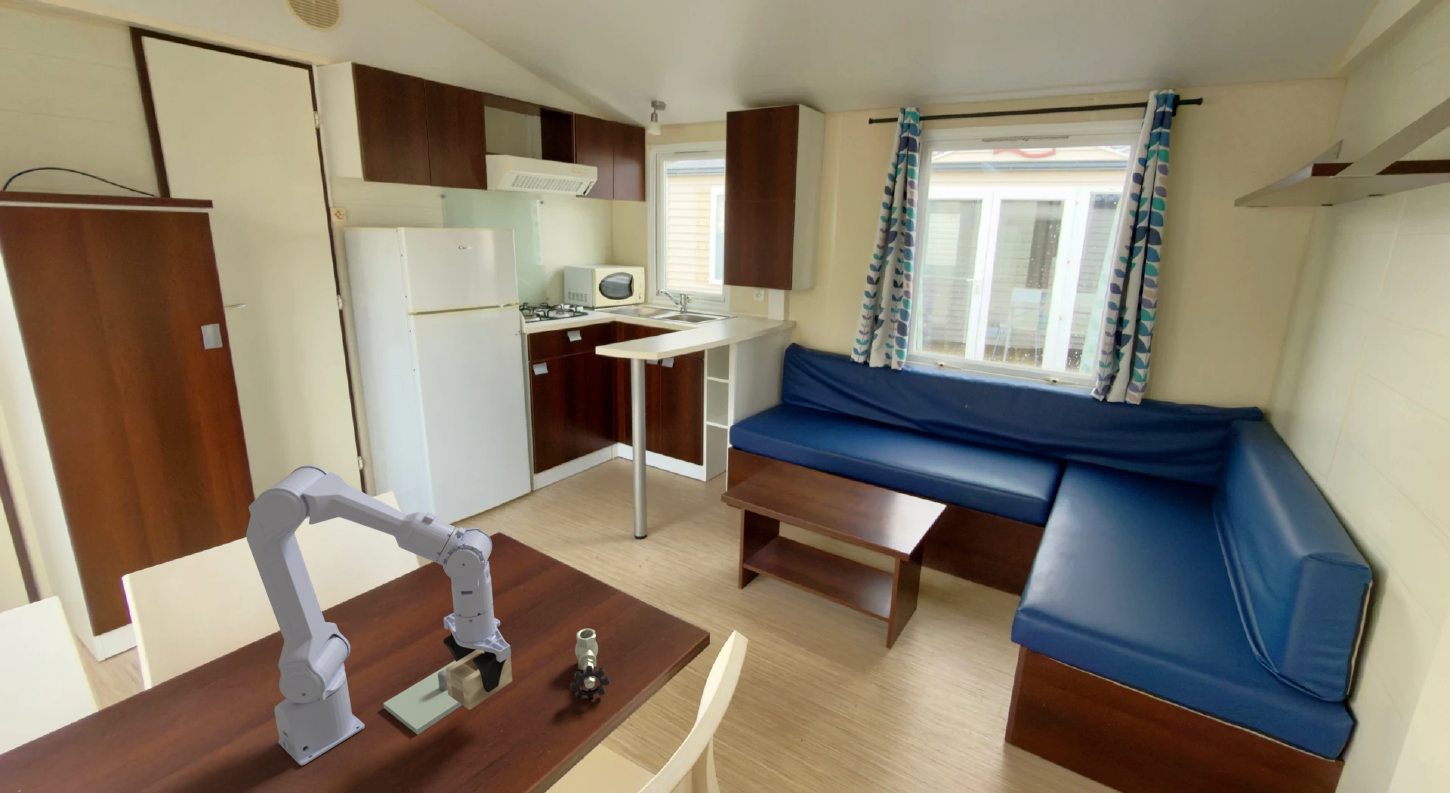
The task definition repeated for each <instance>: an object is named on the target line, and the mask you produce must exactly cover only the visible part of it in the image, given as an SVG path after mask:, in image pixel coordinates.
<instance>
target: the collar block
mask: <svg viewBox="0 0 1450 793" xmlns="http://www.w3.org/2000/svg"><path fill="white" fill-rule="evenodd" d="M482 653H484V651H481V650H475V651H474V652H472V653H470V654H469V655H467V656H465V657H464V658H462V659H460V660H459V661H457V662H455V663H454V664H452V665H450V666H449V667H447V668H445V669H446V678H447V688H448V695H449V696H450V697H452V698H453V699H455V700H456V701H457V702H459V703H460V704H462V706H463V707H464V708H465V709H468V710H469V711H470V710H472V709H473V708H475V707H476V706H477V705H480V704H481V703H482V702H484V701H486V700H487V699H488V698H490V697H491V696H492V695H494V694H496V693H497V692H498V691H500V690H501V689H503V688H505V687H506V686H507V685H508V684H510V683H512V682H513V672H512V659H511V656H512V655H511V656H510V657H508V658H507V659H506V661H505V663H504V666H503V668H502V672H501V676H500V681H499V685H498V687H496V688H495V689H493V690H492V691H490V692H486V691H485V689H484V686H483V682H482V677H481V674H480V671H479V669H478V667H477V666H476V664H475V663H474V662H473V659H474V658H475V657H477V656H479V655H480V654H482Z"/></svg>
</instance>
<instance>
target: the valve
mask: <svg viewBox="0 0 1450 793" xmlns="http://www.w3.org/2000/svg"><path fill="white" fill-rule="evenodd" d="M597 642H598V641H596V630H595V629H593V628H583V629H582V628H581V629H580V630H579V631H577V632H576V644H575V647H574V653H575V654H574V655H575V657H576V658H577V668H578V669H579V670H583V673H581V671H575V673H574V680H576V682H575V683H574V681H571V682H570V684H569V688H570V691H573V692H574V691H575V694H574V695H575V699H576V700H581V699H582V698H583V696H586V698H587V701H588V702H592V701H591V700H593V701H594V699H595V695H596V694H598V695H599V696H604V695H605V694H606V688H605V687H604V686H608V685H610V677H609V676H607V675H606V676H605V678H603V677H604V675H605V669H604V667H598V670H596V671H594V668H595V667H597V655H598V652H599V645H598V643H597ZM596 679H597V680H598V681H599V684H598V686H597V687H596V688H595V689H592V688H594V687H595V686H596V685H595V683H596ZM582 682H583V685H585V687H584V688H586V689H588V690H584V689H583V688H582V686H581V684H582Z"/></svg>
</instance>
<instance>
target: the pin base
mask: <svg viewBox="0 0 1450 793" xmlns="http://www.w3.org/2000/svg"><path fill="white" fill-rule="evenodd" d="M455 662H456V661H455V660H454V661H452V662H450V663H449V664H447V665H445V666H443V667H442V668H440V669H439V670H437V671H435V672H433V673H431V674H430V675H429V676H427V677H424V679H423V678H422V680H420V681H418V682H417V683H415V684H414V685H411V686H410V687H408V688H407V689H405V690H403V691H401V692H400V693H398V694H397V695H395V696H392V697H391V698H389V699H388V700H386V701H385V702H383V709H385V710H386V711H387V712H388V713H390V714H391V715H392V716H393V717H395V718H396V719H397V720H398V721H399V722H401V723H402V724H403V725H404V726H405V727H407V728H408V729H410V731H412V732H413V733H415V734H416V735H418V736H419V735H420V734H421V733H423V732H425V730H427V729H428V728H430V727H432V726H433V725H435V724H436V723H437V722H439V721H441V720H442V719H444V718H445V717H446V716H448V715H450V714H451V713H453V712H454V711H455V710H457V709H459V708H461V707H462V706H463V705H462V704H460V703H459V702H457V701H456V700H455V699H453V698H452V697H450V696H449V695H448V688H447V678H446V669H445V668H447V667H449V666H450V665H452V664H454V663H455Z"/></svg>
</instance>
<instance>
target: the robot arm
mask: <svg viewBox="0 0 1450 793" xmlns="http://www.w3.org/2000/svg"><path fill="white" fill-rule="evenodd" d="M248 510H249V514H250V518H249V521H248V525H247V529H246V534H245V535H246V536H245V537H246V540H247V544H248V546H249V549H250V552H251V554H252V558H253V560H254V562H255V565H256V568H257V570H258V574H259V576H260V580H261V582H262V584H263V587H264V589H265V590H264V591H265V593H266V595H267V597H268V600H269V602H270V605H271V610H272V612H273V614H274V616H275V619H276V622H277V624H278V627H279V630H280V633H281V636H282V638H283V641H284V642H283V645H282V648H281V649H282V650H281V653H280V657H279V661H278V664H277V665H278V669H279V671H280V678H279V682H278V687H279V690H280V692H281V694H282V695H283V697H285V698H284V699H283V700H282V701H281V702H280V703H278V704H276V705H275V706H274V712H273V713H274V718H275V724H276V728H277V732H278V745H280V747H282V748H283V749H284V750H285V752H287V754H288V755H289V756H291V758H292V759H294V761H295V762H296V763H297V764H298V765H299V766H304V765H306V764H308V763H310V762H311V761H313V760H315V759H316V758H318V757H320V756H321V755H323V754H324V753H326V752H328V751H329V750H331V749H332V748H334V747H336V746H337V745H339V744H341V743H342V742H344V741H345V740H347V739H349V738H350V737H352V736H354V735H355V734H357V733H358V732H360V731H362V730H363V729H365V726H366V725H365V723H364V722H362V721H361V720H360V719H359V718H358V717H356V716H355V715H354V713H352V712H353V711H352V705H351V704H352V703H351V699H350V693H349V686H348V680H347V674H346V670H345V669H346V666H345V663H344V662H345V661H346V660H347V659H348V658H349V656H350V654H351V644H350V642H349V640H348V639H347V638H346V637H345V636H344V635H343V634H342V633H341V632H340V630H339V628H338V626H337V623H334V622H327V621H325V617H324V615H323V612H322V609H321V606H320V603H319V600H318V597H317V594H316V592H315V589H314V586H313V584H312V580H311V577H310V575H309V572H308V569H307V568H308V567H307V566H306V563H305V560H304V557H303V554H302V551H301V548H300V546H299V543H298V540H297V537H296V532H297V531H298V529H299V528H300V526H301V525H302V523H303V522H304V521H305V520H306V519H307V518H308V517H309V518H308V525H315V524H319V523H322V522H325V521H330V520H333V519H336V518H341V519H344V520H347V521H350V522H352V523H356V524H358V525H360V526H364V527H367V528H370V529H373V530H375V531H379V532H381V533H385V534H387V535H390V536H393V537H394V538H395V541H396V543H397V547H398V548H400V549H403V550H404V551H407V552H410V553H412V554H414V555H417V556H419V557H421V558H424V559H426V560H429V561H431V562H433V563H436V564H439V565H442V569H443V570H444V572H445V574H446V576H448V577H449V578H450V580H451V581H450V582H451V594H452V604H453V613H450V614H448V615H447V616H444V617H443V626H444V627H443V628H444V629H445V630H446V631H450V635H448V636H447V637H445V638H444V639H443V640H442V643H443V644H444V645H445V647H446V648H447V649H448V650H449V651H450V653H451V655H452V656H453V658H454V661H456V662H457V661H459V660H460V659H462V658H464V657H465V656H467V655H469V654H470V653H472V652H474V651H475V650H481V651H484V653H482V654H480V655H479V656H477V657H475V658H474V659H473V662H474V663H475V664H476V666H477V667H478V669H479V671H480V674H481V677H482V682H483V686H484V689H485V691H486V692H490V691H492V690H493V689H495V688H496V687H498V685H499V681H500V676H501V672H502V668H503V666H504V663H505V661H506V659H507V658H508V657H510V656H512V647H511V645H510V644H509V643H507V642H506V640H505V639H504V637H503V634H501V632H500V630H499V629H498V627H500V625H501V621H500V620H499V619H498V618H496V617H495V614H494V613H495V612H494V600H493V599H494V598H493V588H492V587H493V586H492V577H491V576H492V575H491V571H490V570H491V569H490V561H489V560H488V559H489V557H490V555H491V553H492V550H493V542H492V539H491V537H490V536H489V534H488V533H487V532H485V531H483V530H482V529H480V528H479V527H467V528H463V527H459V528H458V527H456V526H454V525H451V524H449V523H447V522H445V521H443V520H440V519H438V518H436V517H437V515H436V514H435V513H432V512H427V513H424V512H422V511H418V512H413V513H410V514H406V513H404V512H402V511H401V510H398V509H396V508H395V507H392V506H390V505H388V504H386V503H384V502H383V501H381V500H379V499H377V498H375V497H373V496H371V495H369V494H367V493H365V492H362V491H361V490H359V489H357V488H356V487H354V486H351V485H350V484H348V483H347V482H346V481H345V480H344V479H343V477H341V475H340V474H338V473H334V472H331V471H329V472H328V470H326V469H325V468H322V467H320V466H318V465H313V464H305V465H301V466H299V467H296V469H294V470H293V471H292V472H290V473H289V475H287V476H286V477H284V478H283V479H282V480H280V481H279V482H277V483H276V484H275V485H273V486H271V487H270V488H267V489H266V490H264V491H263V492H261V494H260V495H258V497H256V499H254V501H252V502H251V504H249V506H248Z"/></svg>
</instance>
